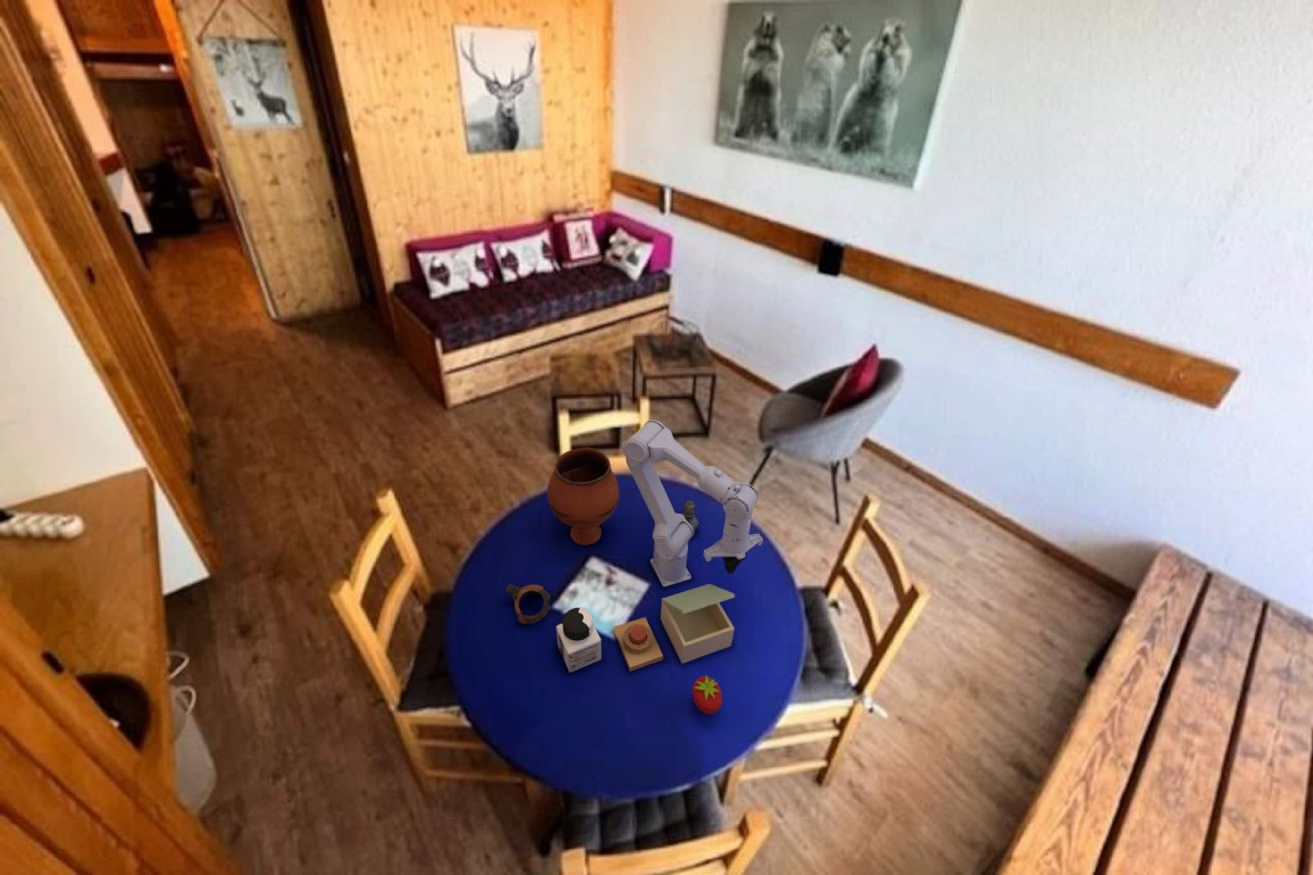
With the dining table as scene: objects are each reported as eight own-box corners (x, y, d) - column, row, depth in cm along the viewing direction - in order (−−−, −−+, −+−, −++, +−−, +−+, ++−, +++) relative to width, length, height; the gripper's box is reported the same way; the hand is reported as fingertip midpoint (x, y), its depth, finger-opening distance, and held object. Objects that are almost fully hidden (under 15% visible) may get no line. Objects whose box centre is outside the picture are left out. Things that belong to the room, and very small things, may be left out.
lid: (735, 597, 126) (734, 593, 126) (682, 614, 122) (682, 610, 122) (710, 586, 139) (709, 583, 139) (662, 602, 135) (661, 598, 135)
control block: (613, 631, 136) (613, 622, 134) (645, 621, 138) (645, 612, 136) (629, 671, 128) (629, 662, 126) (662, 659, 130) (663, 651, 128)
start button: (627, 633, 132) (627, 628, 131) (642, 628, 133) (642, 624, 132) (633, 646, 129) (633, 641, 128) (648, 641, 131) (648, 636, 130)
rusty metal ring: (559, 596, 144) (557, 592, 136) (540, 633, 140) (538, 630, 132) (515, 576, 144) (512, 570, 137) (496, 611, 141) (491, 608, 133)
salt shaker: (695, 540, 160) (699, 509, 153) (674, 536, 161) (677, 505, 154) (698, 525, 165) (702, 494, 157) (678, 521, 166) (681, 491, 158)
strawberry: (697, 728, 118) (702, 703, 112) (685, 695, 124) (689, 669, 118) (724, 721, 120) (730, 696, 114) (711, 688, 126) (716, 662, 120)
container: (569, 673, 127) (566, 639, 119) (557, 645, 132) (554, 610, 124) (602, 659, 130) (601, 625, 122) (589, 632, 135) (587, 597, 127)
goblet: (582, 499, 171) (579, 432, 156) (633, 529, 163) (635, 460, 148) (536, 537, 158) (527, 468, 143) (589, 571, 150) (585, 501, 135)
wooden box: (731, 646, 134) (734, 628, 130) (681, 663, 130) (684, 646, 126) (707, 603, 143) (709, 586, 139) (660, 619, 139) (661, 601, 135)
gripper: (715, 552, 125) (710, 591, 133) (772, 534, 130) (763, 574, 138) (701, 530, 130) (696, 569, 139) (756, 514, 135) (749, 553, 143)
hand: (729, 570), depth 139 cm, fingers closed
